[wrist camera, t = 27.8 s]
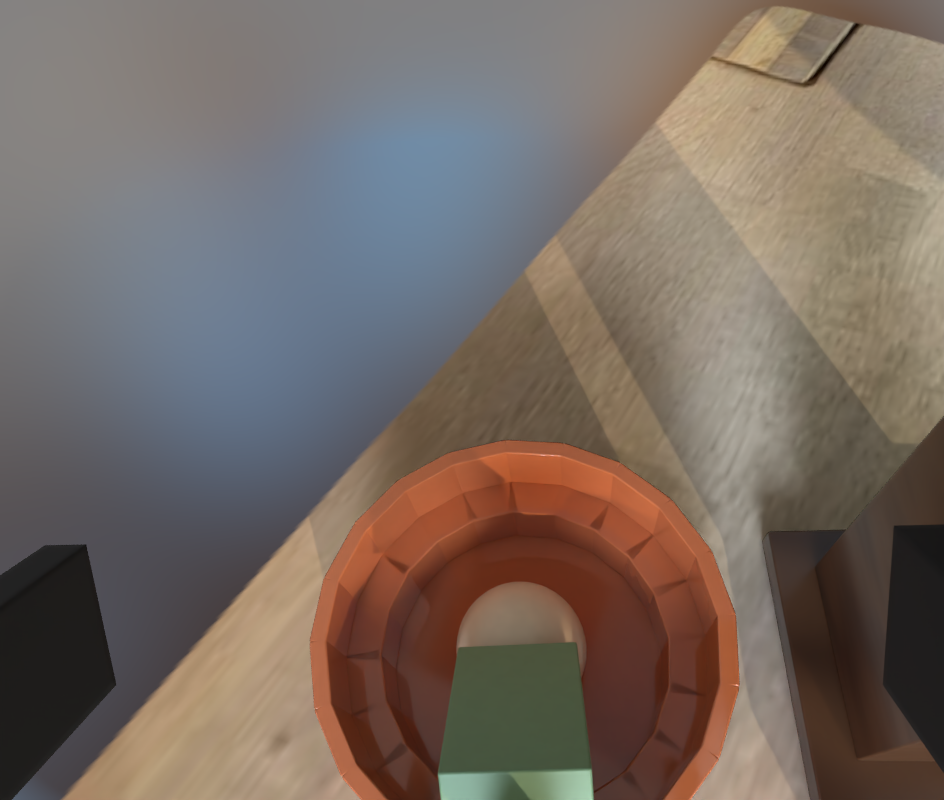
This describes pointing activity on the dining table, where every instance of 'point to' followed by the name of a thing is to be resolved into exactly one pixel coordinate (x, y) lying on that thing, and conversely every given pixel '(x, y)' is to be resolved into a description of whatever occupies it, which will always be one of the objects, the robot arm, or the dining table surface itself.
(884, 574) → the stand
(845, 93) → the dining table surface
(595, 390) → the dining table surface
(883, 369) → the dining table surface
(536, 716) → the green and beige rod
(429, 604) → the bowl
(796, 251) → the dining table surface
